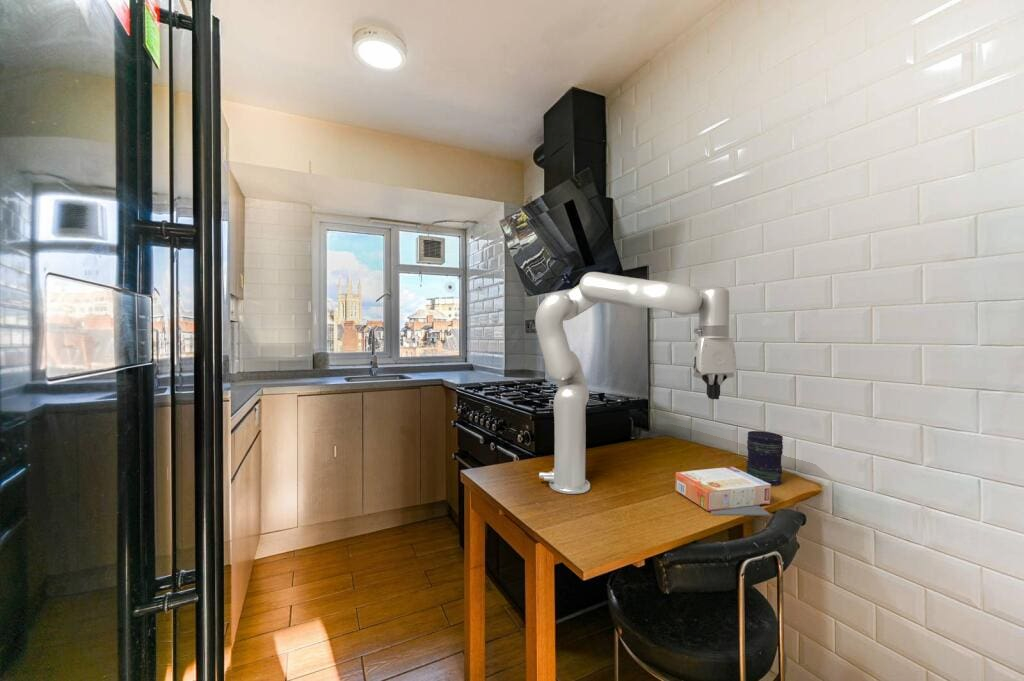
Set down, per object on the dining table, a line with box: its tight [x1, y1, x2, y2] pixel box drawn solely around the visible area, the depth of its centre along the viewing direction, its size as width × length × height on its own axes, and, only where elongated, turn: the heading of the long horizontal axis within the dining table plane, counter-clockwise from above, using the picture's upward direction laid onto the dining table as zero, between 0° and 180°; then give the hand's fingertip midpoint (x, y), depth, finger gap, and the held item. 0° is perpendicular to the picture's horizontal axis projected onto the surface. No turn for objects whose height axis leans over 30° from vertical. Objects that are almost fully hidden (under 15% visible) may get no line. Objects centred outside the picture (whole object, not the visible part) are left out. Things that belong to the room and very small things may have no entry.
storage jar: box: [745, 430, 784, 487], centre depth 130 cm, size 10×10×15 cm
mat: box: [709, 505, 771, 517], centre depth 113 cm, size 15×14×1 cm
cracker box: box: [674, 466, 772, 512], centre depth 116 cm, size 14×6×21 cm
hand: (713, 398), depth 112 cm, fingers closed
